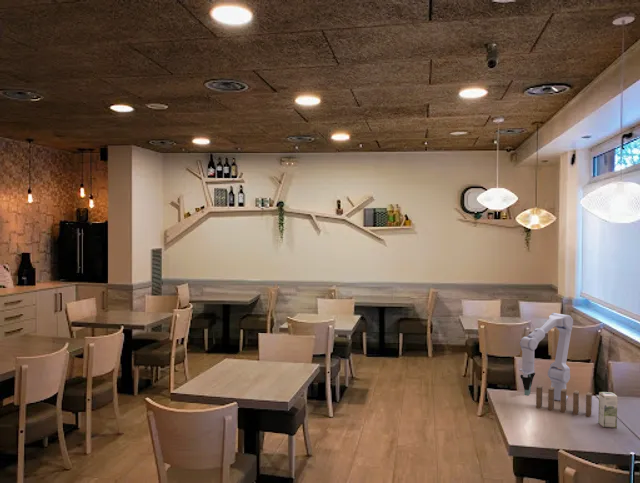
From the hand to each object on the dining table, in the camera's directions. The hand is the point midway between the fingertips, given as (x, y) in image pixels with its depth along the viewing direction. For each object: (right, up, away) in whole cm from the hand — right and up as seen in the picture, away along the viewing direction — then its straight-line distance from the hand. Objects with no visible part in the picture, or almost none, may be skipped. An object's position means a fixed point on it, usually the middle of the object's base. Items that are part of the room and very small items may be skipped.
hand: (527, 388), depth 270 cm
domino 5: (+19, -9, -11) cm, 23 cm away
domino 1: (0, -3, 0) cm, 3 cm away
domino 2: (+5, -8, -3) cm, 10 cm away
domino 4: (+14, -9, -8) cm, 18 cm away
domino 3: (+9, -9, -5) cm, 14 cm away
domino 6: (+24, -9, -14) cm, 29 cm away
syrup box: (+25, -9, -28) cm, 39 cm away
